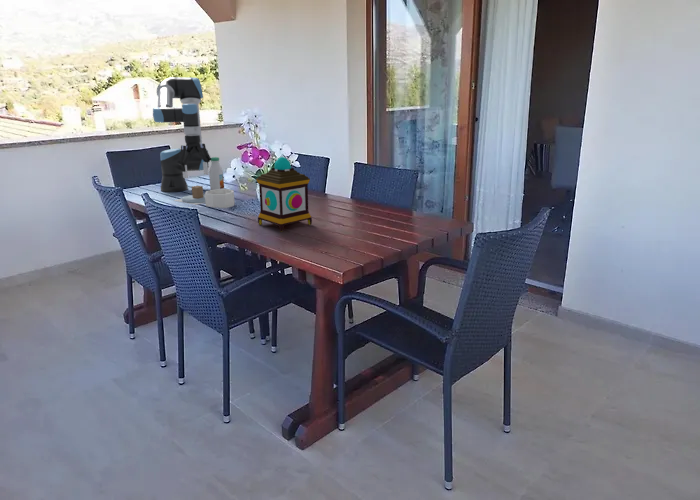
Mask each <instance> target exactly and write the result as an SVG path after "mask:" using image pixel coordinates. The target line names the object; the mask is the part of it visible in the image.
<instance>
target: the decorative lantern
mask: <svg viewBox="0 0 700 500" xmlns="http://www.w3.org/2000/svg"><path fill="white" fill-rule="evenodd" d="M255 180H256V182H257V183H258V189H259V192H258V193H259V207H260V212H259V214H258V216H257V223H258V225H262V224H263V221H264V222H267V223H270V224H274V225H276V226H278V227H279V231H280V233H281V232H284V226H286V225H290V224H296V223H300V222H304V221H307V225H309V226H310V225H312V222H313V220H312V216H311V214H310V211H309V195H308V194H309V187H308V186H309V183H310V180H311V179H310V178H309V176H307V175H306V174H304V173H300V172H298V170H296V169H294V167H292V166H291V161H290V160H289V159H287V157H284V156H281V157H279V158H277V160H275V162H274V167H272V168H271V169H270V170H269V171H267V172H266V173H262V174H260V176H257V178H256V179H255Z"/></svg>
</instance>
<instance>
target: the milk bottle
mask: <svg viewBox="0 0 700 500" xmlns="http://www.w3.org/2000/svg"><path fill="white" fill-rule="evenodd" d="M210 158H211V160H210V163H211V165H210V166H209V167H210V168H209V170H208V177H209V187H210V190H214V189H225V180H224V171H223V169H222V166H221V165H220V157H217V156H215V157H214V156H213V157H210Z"/></svg>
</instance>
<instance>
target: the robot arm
mask: <svg viewBox="0 0 700 500" xmlns="http://www.w3.org/2000/svg"><path fill="white" fill-rule="evenodd" d="M157 85H158V86H157V87H156V96H157V97H158V99H157V107H154V108H152V116H153V120H154V123H161V124H163V123H165V124H166V123H183V133H184V142H185V145H180V148H170V149H166V150H162V151H161V152H160V153H159V154H160V159H159V160H160V166H161V173H162V174H161V176H162V178H161V181H160V182H161V183H160V191H162V192H165V193H166V192H169V193H172V192H173V193H174V192H181V191H182V192H183V191H186V190H188V189H189V187H188V183H187V181H186V179H188V178H189V176H188V172H191V171H192V172H194V171H199V172H201V171H203V175H208V176H209V167H210V166H209V163H211V158H212V157H211V155H210V154H209V150H207V148H206V144H205V143H203V140H202V139H203V137H202V129H201V128H202V127H201V126H202V125H201V117H200V116H201V115H200V105H199V104H200V103H201V102H202V99H203V98H204V95H203V89H202V84H201V81H200V79H199V78H198V77H191V76H190V77H183V76H181V77H174V76H173V77H168V78H165V79H164V80H162V81H161V82H160V83H159V84H157ZM173 99H179V101H180V103H181V104H182V105H181V107H178V106H176V107H175V106H174V102H173V101H174V100H173Z"/></svg>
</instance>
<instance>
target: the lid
mask: <svg viewBox="0 0 700 500" xmlns="http://www.w3.org/2000/svg"><path fill="white" fill-rule="evenodd" d="M191 192H192V194H189V195H185V196H183V197H181V199H182V201H183V202H182V203H184V202H186V203H185V204H189V203H202V204H204V203H203V202H205V193H204V187H203V185H193V186H191Z"/></svg>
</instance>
